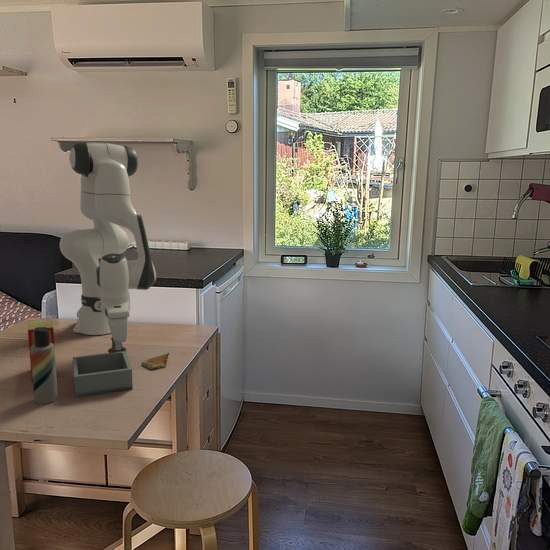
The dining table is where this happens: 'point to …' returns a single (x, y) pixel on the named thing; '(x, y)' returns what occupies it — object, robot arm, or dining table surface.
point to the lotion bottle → (43, 367)
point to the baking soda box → (35, 324)
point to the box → (102, 373)
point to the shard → (156, 361)
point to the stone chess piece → (114, 347)
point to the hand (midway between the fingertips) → (117, 346)
